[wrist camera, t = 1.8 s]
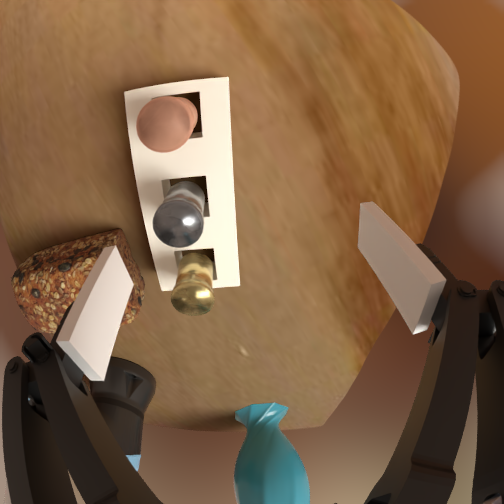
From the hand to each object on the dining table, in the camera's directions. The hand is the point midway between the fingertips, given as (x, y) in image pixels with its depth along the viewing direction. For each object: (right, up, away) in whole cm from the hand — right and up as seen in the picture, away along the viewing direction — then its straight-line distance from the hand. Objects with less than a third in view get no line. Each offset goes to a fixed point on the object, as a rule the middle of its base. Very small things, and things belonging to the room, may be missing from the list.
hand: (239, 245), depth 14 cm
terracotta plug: (-6, +12, +9) cm, 16 cm away
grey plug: (-6, +5, +14) cm, 16 cm away
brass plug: (-6, -2, +18) cm, 19 cm away
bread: (-24, -2, +22) cm, 33 cm away
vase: (+3, -43, +51) cm, 67 cm away
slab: (-7, +7, +17) cm, 20 cm away
